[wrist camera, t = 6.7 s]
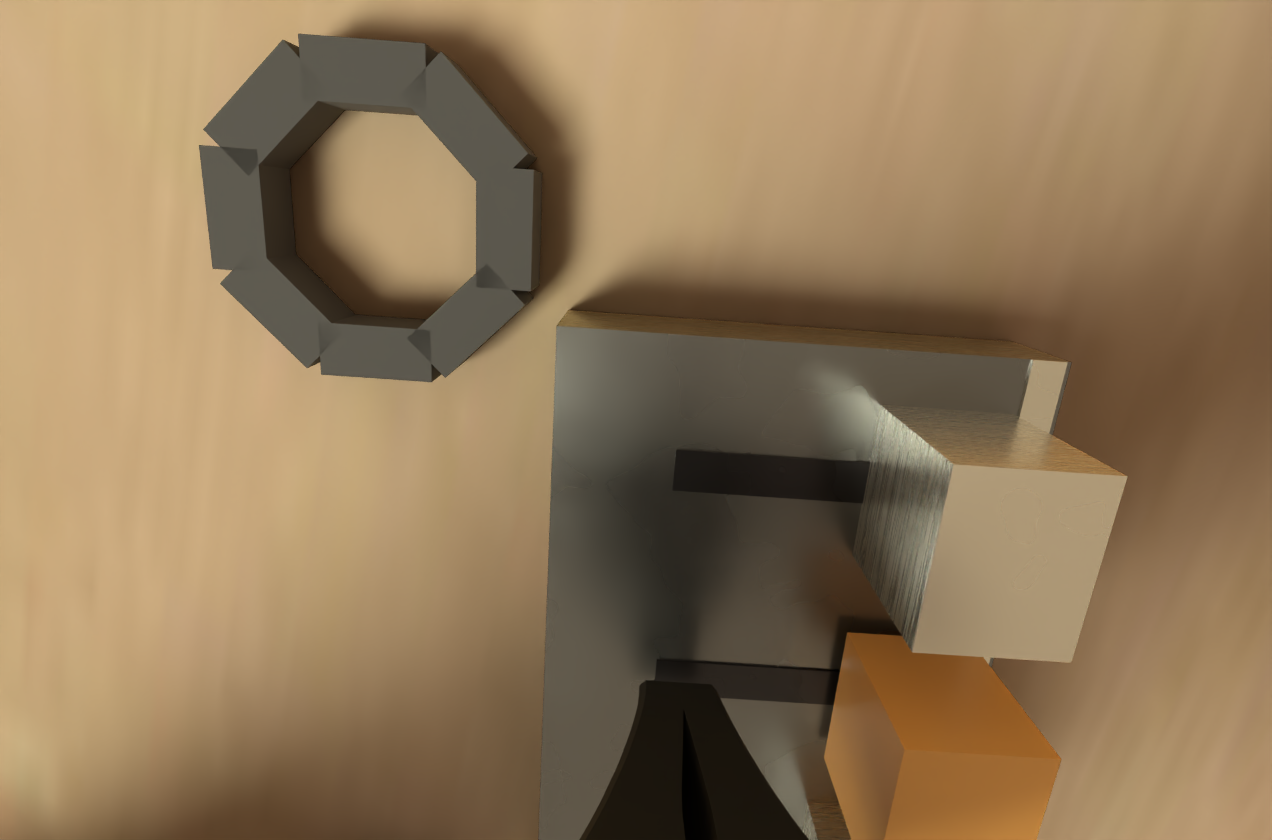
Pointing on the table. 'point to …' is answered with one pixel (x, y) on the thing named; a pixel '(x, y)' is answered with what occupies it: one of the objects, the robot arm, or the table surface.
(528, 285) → the coil
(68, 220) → the table surface
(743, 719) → the breaker strip
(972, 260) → the table surface
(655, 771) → the robot arm
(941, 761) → the orange breaker switch
